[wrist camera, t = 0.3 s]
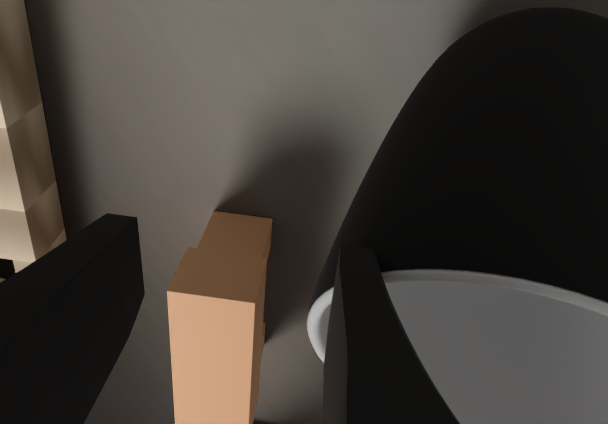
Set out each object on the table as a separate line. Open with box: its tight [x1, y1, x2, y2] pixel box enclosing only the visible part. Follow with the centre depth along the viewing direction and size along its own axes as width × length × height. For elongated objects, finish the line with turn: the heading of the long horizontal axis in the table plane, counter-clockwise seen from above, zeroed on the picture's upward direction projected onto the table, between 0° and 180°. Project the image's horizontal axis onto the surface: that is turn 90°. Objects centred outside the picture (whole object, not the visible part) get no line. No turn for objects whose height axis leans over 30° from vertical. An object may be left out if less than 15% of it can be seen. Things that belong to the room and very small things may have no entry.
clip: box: [167, 211, 273, 424], centre depth 23 cm, size 8×3×6 cm, turn 175°
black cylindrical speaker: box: [307, 8, 608, 424], centre depth 16 cm, size 12×9×10 cm
